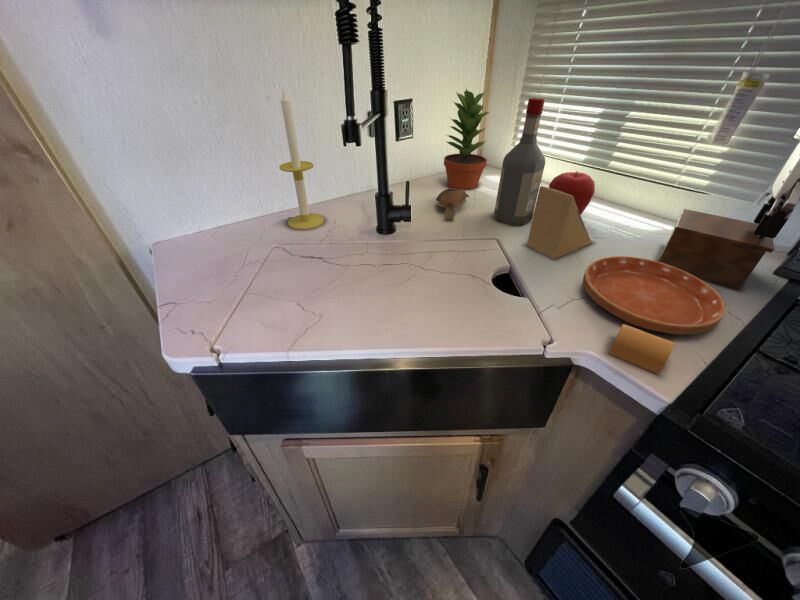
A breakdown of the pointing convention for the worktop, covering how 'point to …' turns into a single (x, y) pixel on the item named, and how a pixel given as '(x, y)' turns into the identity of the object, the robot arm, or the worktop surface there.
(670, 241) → the bin
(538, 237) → the sandwich container
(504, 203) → the liquor
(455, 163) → the potted plant
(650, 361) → the orange cylinder
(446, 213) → the toy tortoise
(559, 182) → the apple
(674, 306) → the saucer
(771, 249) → the bread lid
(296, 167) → the candle
